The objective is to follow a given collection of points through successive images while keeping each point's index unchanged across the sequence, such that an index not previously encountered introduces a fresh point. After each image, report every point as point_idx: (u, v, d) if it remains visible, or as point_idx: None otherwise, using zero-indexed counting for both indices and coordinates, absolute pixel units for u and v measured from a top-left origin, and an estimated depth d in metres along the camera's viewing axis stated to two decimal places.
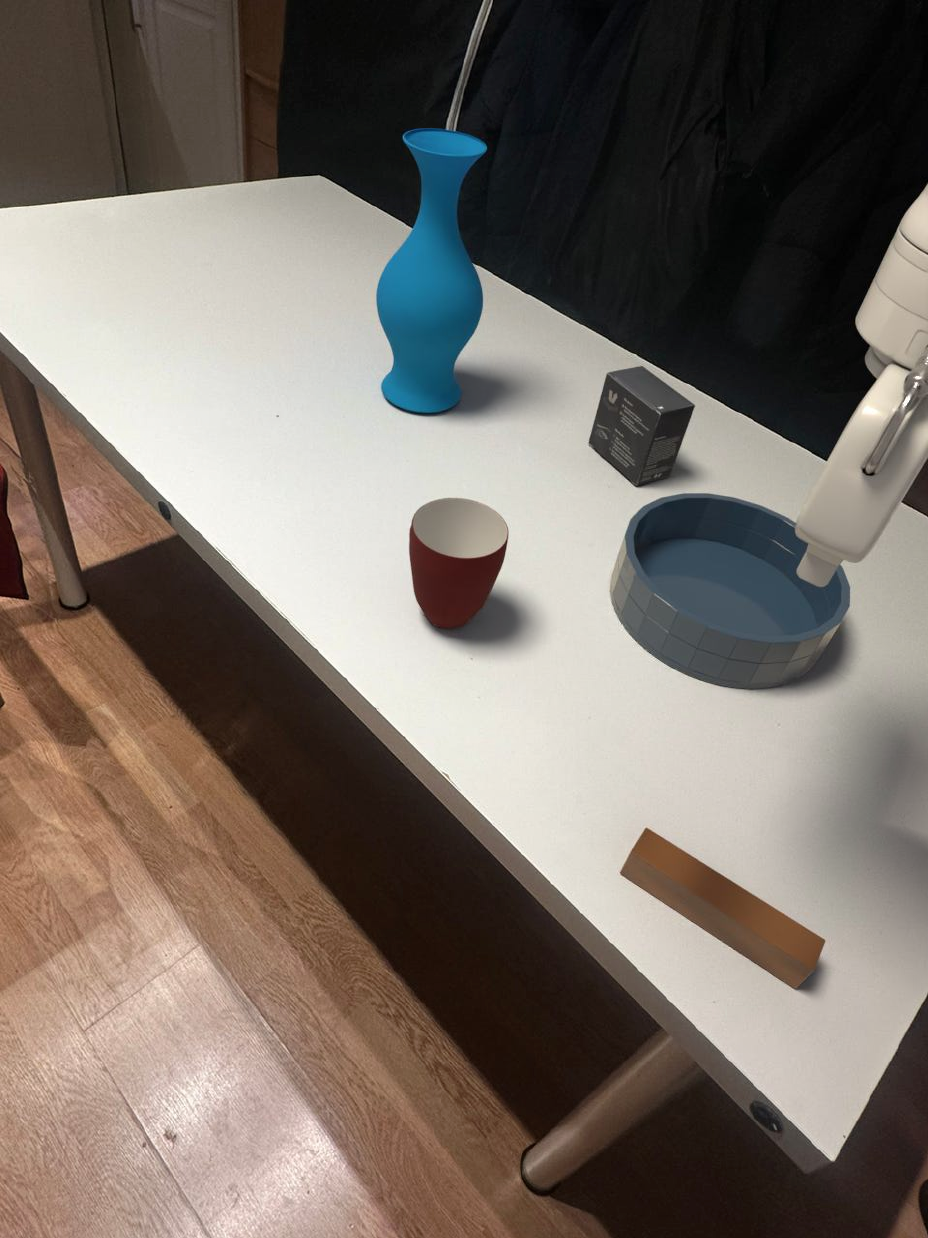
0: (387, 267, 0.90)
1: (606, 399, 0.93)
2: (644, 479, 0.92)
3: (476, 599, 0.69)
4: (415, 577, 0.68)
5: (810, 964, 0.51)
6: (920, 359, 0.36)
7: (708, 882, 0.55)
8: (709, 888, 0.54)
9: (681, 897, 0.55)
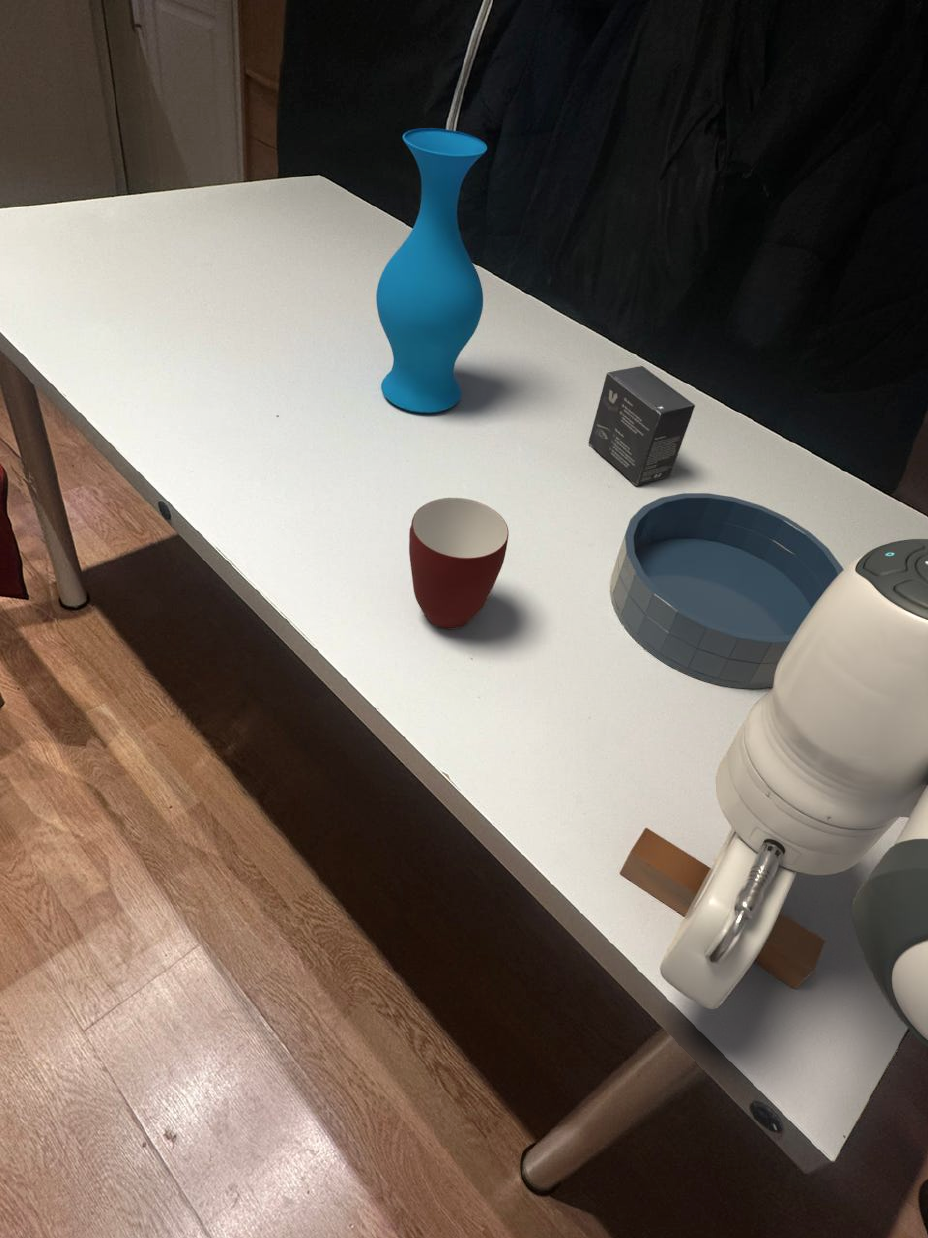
0: (387, 267, 0.90)
1: (606, 399, 0.93)
2: (644, 479, 0.92)
3: (476, 599, 0.69)
4: (415, 577, 0.68)
5: (810, 964, 0.51)
6: (753, 868, 0.42)
7: None
8: None
9: (681, 897, 0.55)
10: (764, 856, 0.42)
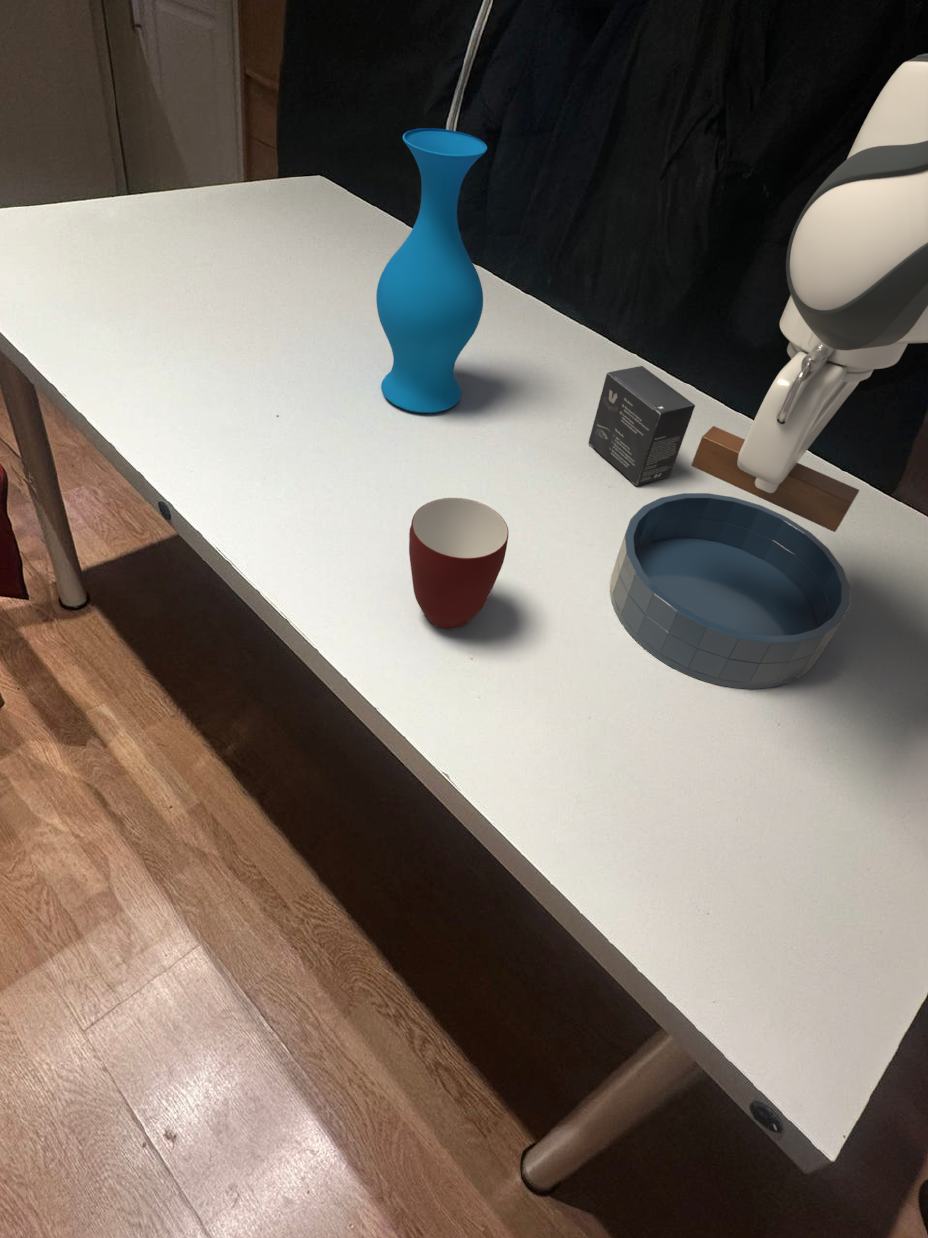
0: (387, 267, 0.90)
1: (606, 399, 0.93)
2: (644, 479, 0.92)
3: (476, 599, 0.69)
4: (415, 577, 0.68)
5: (848, 499, 0.65)
6: (814, 347, 0.55)
7: None
8: None
9: None
10: (822, 341, 0.56)
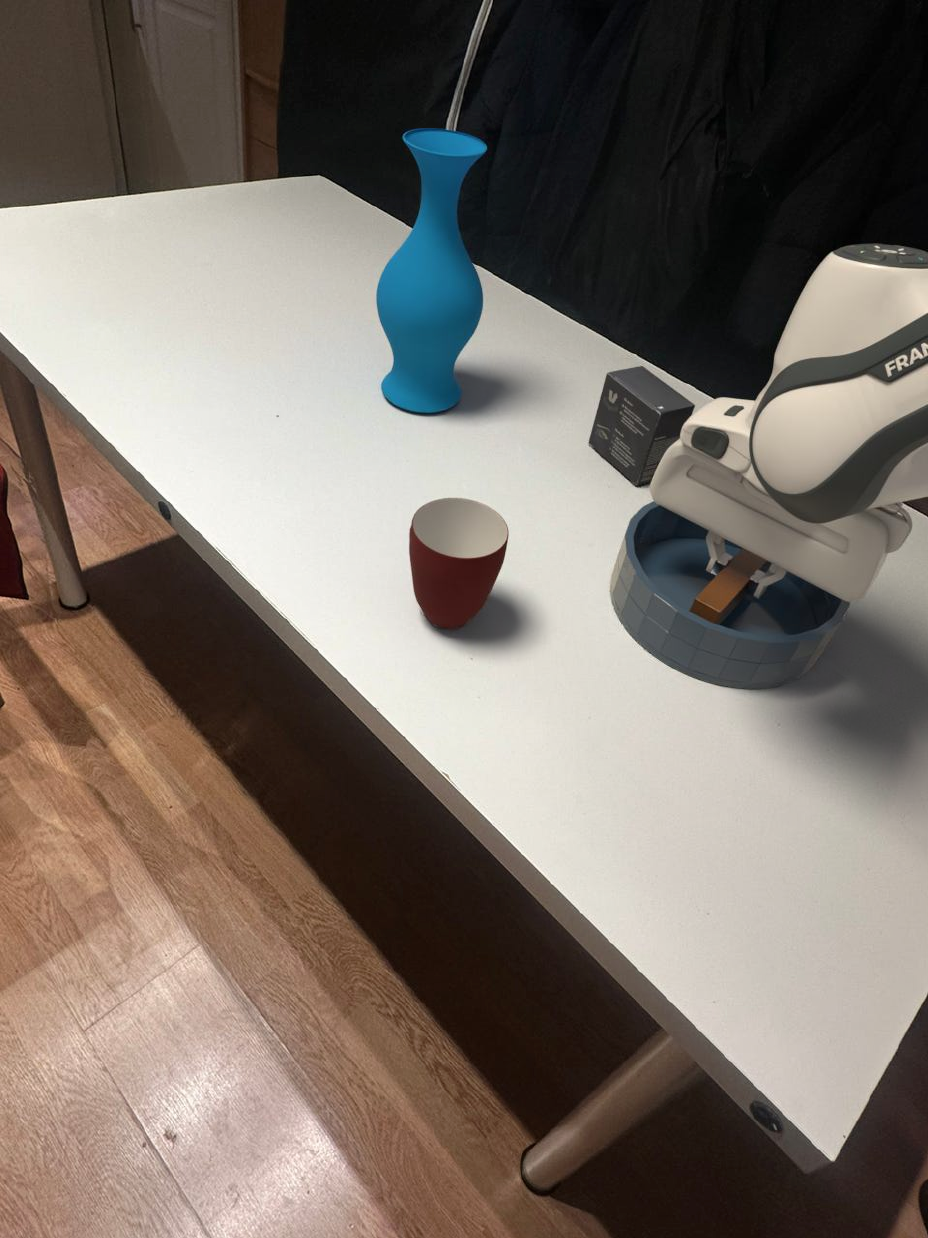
0: (387, 267, 0.90)
1: (606, 399, 0.93)
2: (644, 479, 0.92)
3: (476, 599, 0.69)
4: (415, 577, 0.68)
5: None
6: None
7: (732, 576, 0.73)
8: (737, 577, 0.73)
9: (736, 599, 0.73)
10: None
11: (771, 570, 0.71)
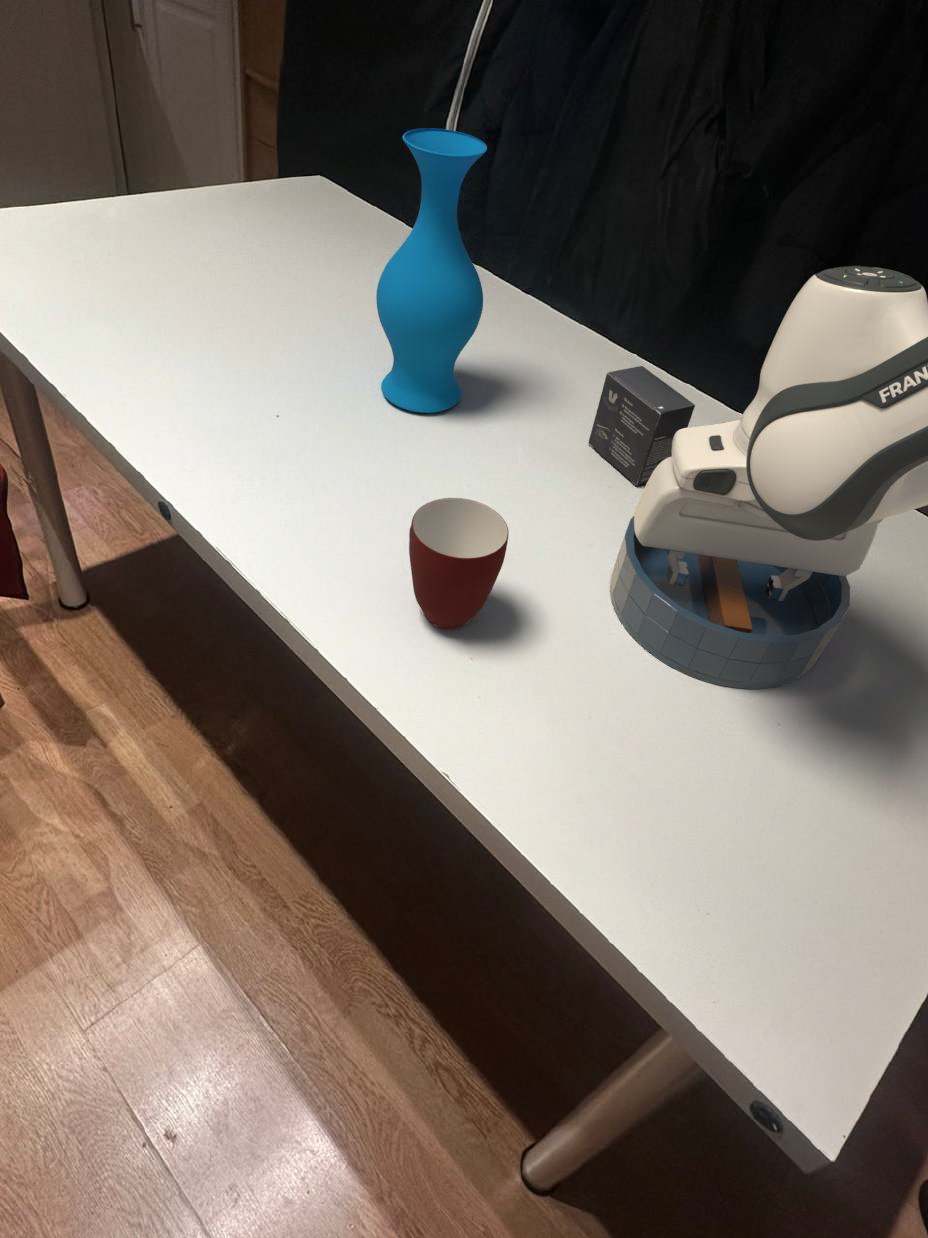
0: (387, 267, 0.90)
1: (606, 399, 0.93)
2: (644, 479, 0.92)
3: (476, 599, 0.69)
4: (415, 577, 0.68)
5: None
6: None
7: (729, 587, 0.76)
8: (733, 586, 0.76)
9: None
10: None
11: (797, 575, 0.74)
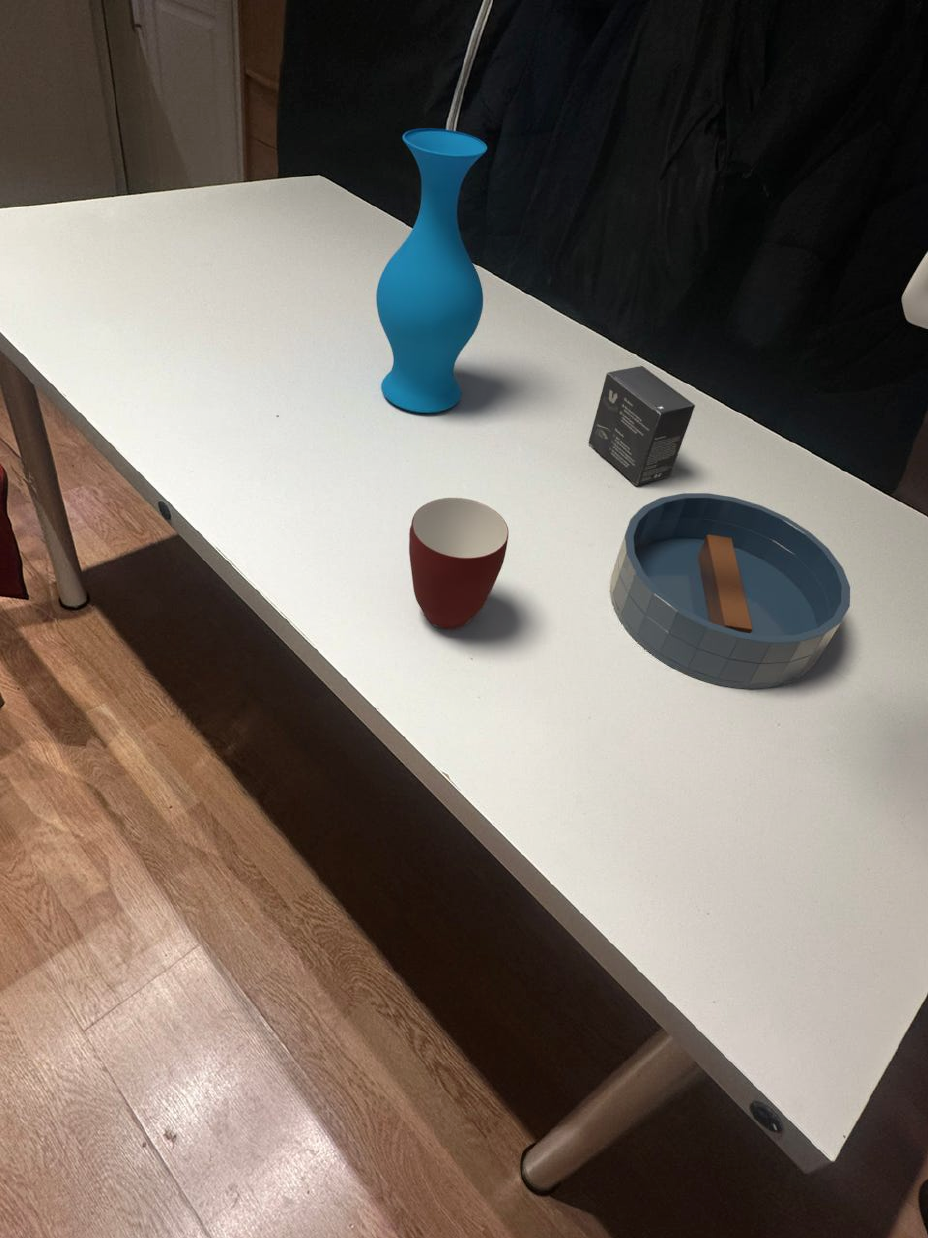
0: (387, 267, 0.90)
1: (606, 399, 0.92)
2: (644, 479, 0.92)
3: (476, 599, 0.69)
4: (415, 577, 0.68)
5: (729, 539, 0.81)
6: None
7: (729, 587, 0.76)
8: (733, 586, 0.76)
9: None
10: None
11: None
